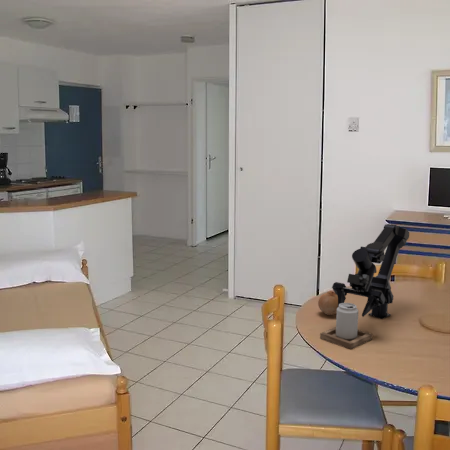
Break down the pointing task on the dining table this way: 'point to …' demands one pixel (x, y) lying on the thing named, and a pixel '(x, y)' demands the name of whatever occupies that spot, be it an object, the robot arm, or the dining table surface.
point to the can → (347, 321)
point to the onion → (328, 303)
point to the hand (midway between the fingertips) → (350, 313)
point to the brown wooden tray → (350, 344)
